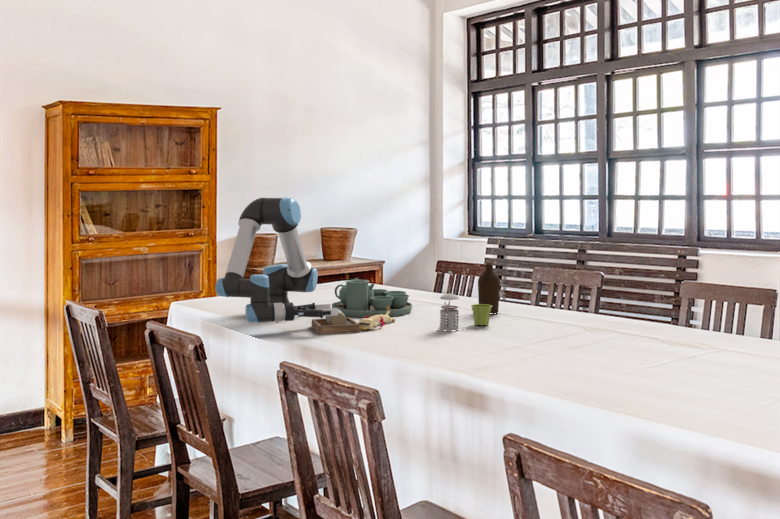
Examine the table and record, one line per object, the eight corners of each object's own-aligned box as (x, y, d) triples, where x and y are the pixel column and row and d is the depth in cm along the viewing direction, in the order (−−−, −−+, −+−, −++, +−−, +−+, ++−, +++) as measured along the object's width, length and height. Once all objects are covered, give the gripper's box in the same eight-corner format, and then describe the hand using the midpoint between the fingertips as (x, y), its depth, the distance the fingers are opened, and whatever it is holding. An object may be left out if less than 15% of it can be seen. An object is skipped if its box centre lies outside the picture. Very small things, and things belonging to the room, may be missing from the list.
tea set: (414, 318, 320) (415, 283, 319) (328, 318, 319) (328, 283, 318) (410, 305, 360) (410, 274, 358) (333, 305, 359) (333, 273, 357)
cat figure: (379, 324, 312) (352, 328, 290) (380, 304, 312) (352, 308, 290) (399, 325, 308) (372, 330, 285) (399, 306, 308) (373, 309, 285)
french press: (463, 328, 295) (463, 270, 293) (456, 333, 285) (457, 273, 282) (440, 326, 299) (441, 269, 296) (433, 331, 288) (434, 272, 286)
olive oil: (502, 314, 330) (503, 262, 328) (481, 315, 328) (481, 263, 326) (495, 311, 340) (496, 260, 338) (474, 311, 339) (475, 261, 337)
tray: (311, 326, 297) (311, 319, 296) (349, 324, 302) (349, 317, 301) (319, 334, 280) (319, 326, 280) (359, 332, 286) (359, 324, 285)
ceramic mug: (329, 329, 286) (330, 311, 285) (325, 326, 294) (325, 308, 293) (354, 328, 289) (354, 310, 289) (349, 325, 297) (349, 307, 296)
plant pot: (466, 325, 302) (466, 305, 302) (478, 322, 309) (479, 303, 309) (483, 327, 296) (484, 307, 295) (496, 325, 303) (496, 305, 302)
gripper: (279, 315, 295) (327, 313, 302) (289, 326, 272) (341, 323, 279) (278, 298, 295) (327, 296, 301) (289, 307, 271) (341, 305, 278)
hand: (334, 309), depth 290 cm, fingers open, 13 cm apart
